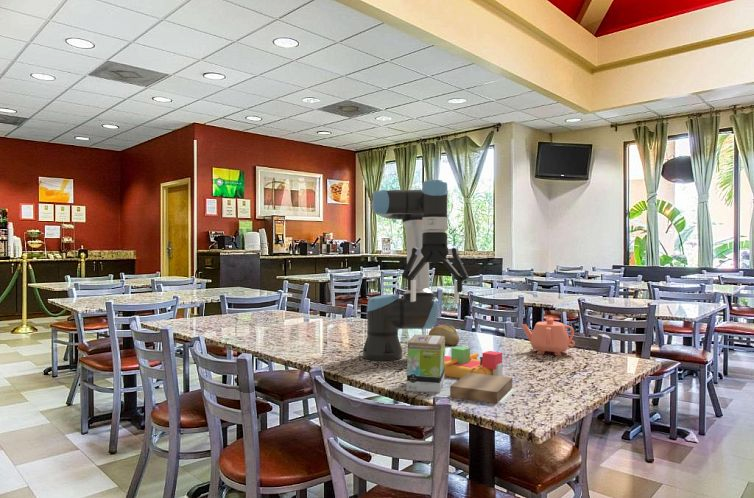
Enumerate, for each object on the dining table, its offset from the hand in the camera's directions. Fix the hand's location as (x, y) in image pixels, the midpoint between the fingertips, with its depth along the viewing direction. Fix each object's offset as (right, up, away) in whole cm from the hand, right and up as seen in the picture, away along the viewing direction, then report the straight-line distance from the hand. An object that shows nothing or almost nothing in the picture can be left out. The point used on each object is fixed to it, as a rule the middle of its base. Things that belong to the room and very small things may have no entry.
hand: (434, 302), depth 159 cm
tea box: (-3, -25, -2) cm, 26 cm away
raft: (+9, -26, +15) cm, 31 cm away
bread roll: (+12, -25, +69) cm, 74 cm away
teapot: (+51, -25, +51) cm, 76 cm away
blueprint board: (+12, -25, -9) cm, 29 cm away
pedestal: (+12, -24, -10) cm, 29 cm away
